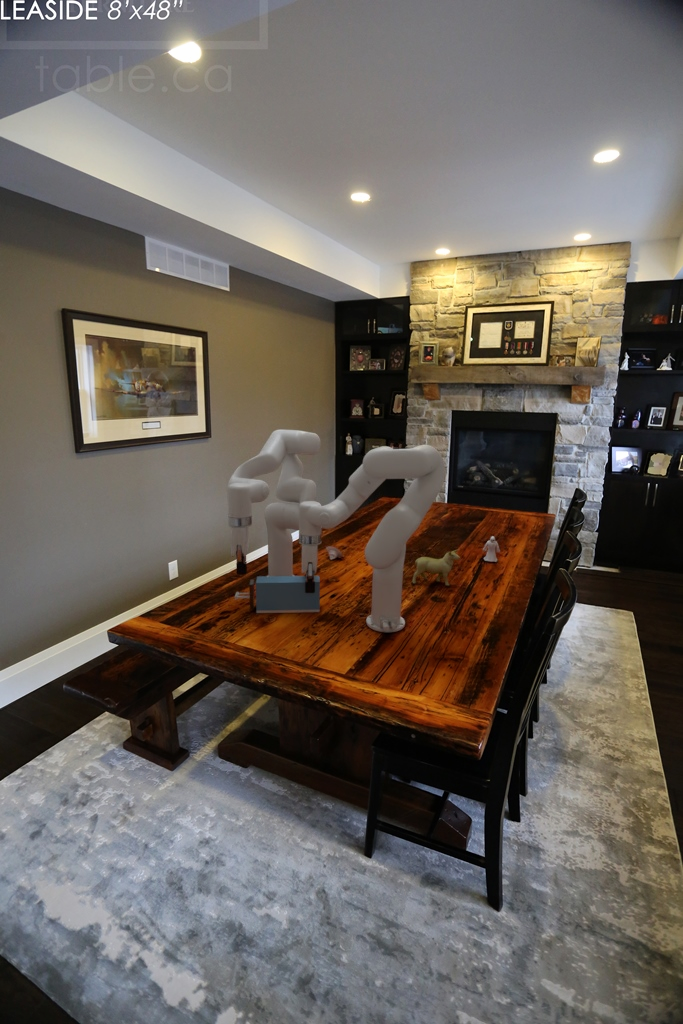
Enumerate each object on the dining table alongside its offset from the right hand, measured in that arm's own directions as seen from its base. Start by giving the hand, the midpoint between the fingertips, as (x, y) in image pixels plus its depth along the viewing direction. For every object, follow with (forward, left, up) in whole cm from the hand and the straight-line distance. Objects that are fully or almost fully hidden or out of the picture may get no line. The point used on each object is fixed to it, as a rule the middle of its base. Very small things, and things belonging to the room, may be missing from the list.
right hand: (309, 588), depth 171 cm
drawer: (0, +13, -7) cm, 14 cm away
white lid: (+52, -11, -8) cm, 53 cm away
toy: (+21, -49, -8) cm, 54 cm away
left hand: (0, +23, +6) cm, 24 cm away
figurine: (+47, -82, -8) cm, 95 cm away
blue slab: (0, +7, -8) cm, 11 cm away
